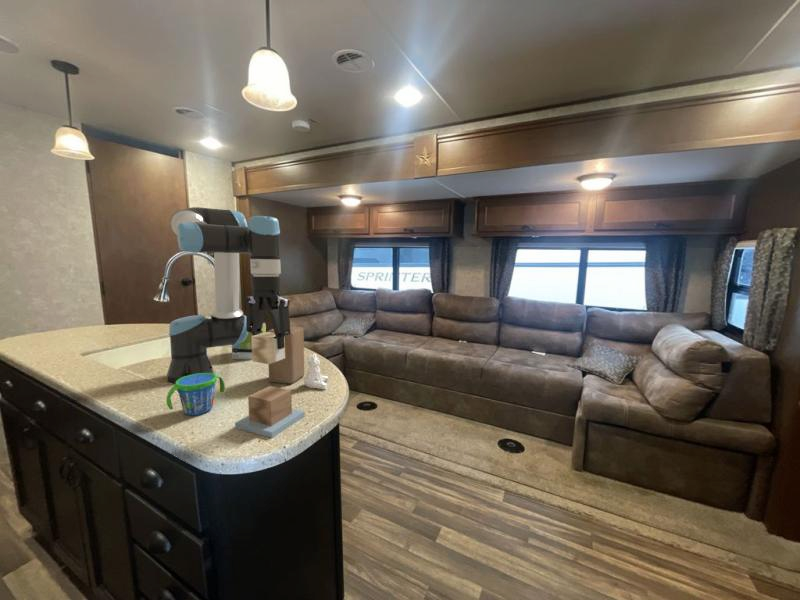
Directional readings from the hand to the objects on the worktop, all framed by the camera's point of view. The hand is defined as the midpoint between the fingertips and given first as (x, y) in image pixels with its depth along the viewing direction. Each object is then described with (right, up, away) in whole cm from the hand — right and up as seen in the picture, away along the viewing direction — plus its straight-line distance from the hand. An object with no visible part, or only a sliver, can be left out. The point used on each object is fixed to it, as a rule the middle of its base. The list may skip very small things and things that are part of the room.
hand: (269, 358), depth 91 cm
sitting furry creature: (+5, -16, +29) cm, 34 cm away
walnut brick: (0, -17, +2) cm, 17 cm away
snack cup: (-25, -18, +8) cm, 31 cm away
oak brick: (0, 0, 0) cm, 0 cm away
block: (-7, -15, +36) cm, 39 cm away
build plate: (0, -18, +2) cm, 19 cm away
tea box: (-36, -10, +66) cm, 76 cm away
